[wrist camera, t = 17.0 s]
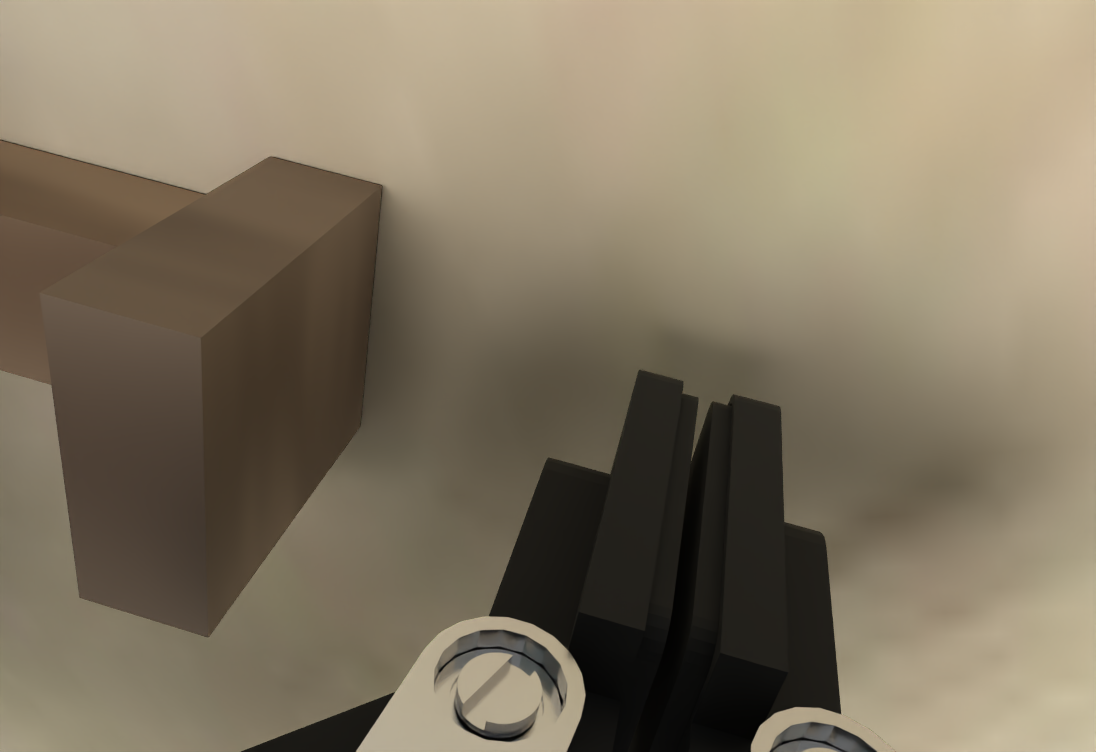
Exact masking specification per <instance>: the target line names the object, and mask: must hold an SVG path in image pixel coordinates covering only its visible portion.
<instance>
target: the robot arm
mask: <svg viewBox="0 0 1096 752" xmlns="http://www.w3.org/2000/svg"><path fill="white" fill-rule="evenodd" d="M683 384H684V382H683V381H681V380H677V379H673V378H669V377H666V376H662V375H658V374H654V373H650V372H647V371H643V370H639V371H638V375H637V379H636V382H635V386H634V390H633V393H632V397H631V401H630V404H629V408H628V412H627V415H626V419H625V423H624V426H623V430H622V434H621V437H620V441H619V445H618V448H617V452H616V456H615V459H614V463H613V467H612V470H611V474H607V473H603V472H599V471H596V470H592V469H588V468H585V467H581V466H577V465H574V464H570V463H567V462H563V461H559V460H556V459H552V458H548V459H547V460H546V463H545V465H544V468H543V470H542V473H541V476H540V479H539V481H538V484H537V487H536V489H535V492H534V495H533V498H532V500H531V503H530V506H529V508H528V511H527V514H526V517H525V519H524V522H523V525H522V528H521V530H520V533H519V536H518V538H517V541H516V544H515V547H514V549H513V552H512V555H511V557H510V560H509V563H508V566H507V568H506V571H505V574H504V577H503V579H502V582H501V585H500V587H499V590H498V593H497V596H496V598H495V601H494V604H493V606H492V609H491V612H490V615H489V616H483V617H478V618H473V619H469V620H464V621H460V622H458V623H456V624H454V625H453V626H451V627H449V628H447V629H445V630H443V631H441V632H440V633H439V634H438V635H437V636H436V637H435V638H434V639H433V640H432V641H431V642H430V643H429V644H428V645H427V646H426V647H425V648H424V650H423V651H422V653H421V654H420V656H419V657H418V659H417V660H416V662H415V663H414V665H413V666H412V668H411V669H410V671H409V672H408V674H407V676H406V677H405V679H404V680H403V682H402V683H401V685H400V686H399V688H398V689H397V691H396V692H394V693H392V694H389V695H386V696H384V697H381V698H379V699H376V700H374V701H371V702H368V703H366V704H363V705H361V706H358V707H355V708H353V709H350V710H348V711H345V712H342V713H340V714H337V715H335V716H332V717H330V718H327V719H324V720H322V721H319V722H317V723H314V724H311V725H309V726H306V727H304V728H301V729H298V730H296V731H293V732H291V733H288V734H285V735H283V736H280V737H278V738H275V739H273V740H270V741H267V742H265V743H262V744H260V745H257V746H254V747H252V748H249V749H247V750H244V751H241V752H895V751H894V749H893V748H892V747H890V746H889V745H888V744H887V743H886V742H885V741H883V740H882V739H881V738H880V737H879V736H877V735H876V734H875V733H874V732H873V731H871V730H870V729H869V728H867V727H865V726H863V725H861V724H859V723H858V722H856V721H854V720H852V719H850V718H849V717H847V716H845V715H842V714H841V707H840V696H839V685H838V673H837V662H836V651H835V640H834V629H833V617H832V606H831V595H830V584H829V573H828V561H827V550H826V543H825V538H824V536H823V535H822V533H821V532H818V531H814V530H811V529H807V528H803V527H800V526H796V525H792V524H789V523H785V522H784V502H783V467H782V432H781V409H780V407H779V406H776V405H772V404H768V403H765V402H761V401H757V400H753V399H749V398H745V397H742V396H738V395H734V394H733V396H732V397H731V399H730V401H729V403H728V405H724V404H720V403H717V402H712V403H711V405H710V407H709V410H708V413H707V416H706V419H705V422H704V425H703V428H702V431H701V434H700V437H699V440H698V443H697V446H696V449H695V452H694V455H693V458H692V461H691V456H692V448H693V440H694V432H695V424H696V416H697V408H698V397H694V396H690V395H686V394H682V391H683Z"/></svg>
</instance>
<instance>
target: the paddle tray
mask: <svg viewBox="0 0 1096 752" xmlns="http://www.w3.org/2000/svg"><path fill="white" fill-rule="evenodd" d="M381 192H382V186H381V185H378V184H374V183H370V182H366V181H362V180H358V179H354V178H351V177H347V176H343V175H339V174H335V173H331V172H327V171H324V170H320V169H316V168H312V167H308V166H304V165H301V164H297V163H293V162H289V161H285V160H281V159H277V158H274V157H268V158H267V159H265V160H263V161H262V162H260V163H258V164H257V165H255V166H253V167H252V168H250V169H248V170H246V171H245V172H243V173H241V174H240V175H238V176H236V177H235V178H233V179H231V180H230V181H228V182H226V183H224V184H223V185H221V186H219V187H218V188H216V189H214V190H213V191H211V192H209V193H207V194H206V195H204V194H200V193H197V192H193V191H189V190H185V189H182V188H178V187H174V186H170V185H166V184H163V183H159V182H155V181H151V180H148V179H144V178H140V177H136V176H133V175H129V174H125V173H121V172H117V171H114V170H110V169H106V168H102V167H99V166H95V165H91V164H87V163H83V162H80V161H76V160H72V159H68V158H65V157H61V156H57V155H53V154H50V153H46V152H42V151H38V150H34V149H31V148H27V147H23V146H19V145H16V144H12V143H8V142H4V141H0V370H2V371H6V372H9V373H13V374H16V375H19V376H23V377H26V378H30V379H33V380H37V381H40V382H44V383H47V384H51V385H52V392H53V399H54V407H55V415H56V422H57V430H58V437H59V445H60V452H61V460H62V468H63V475H64V483H65V490H66V498H67V505H68V513H69V521H70V528H71V536H72V543H73V551H74V558H75V566H76V573H77V581H78V589H79V596H80V598H82V599H86V600H89V601H92V602H95V603H98V604H102V605H105V606H108V607H111V608H115V609H118V610H121V611H124V612H128V613H131V614H134V615H137V616H141V617H144V618H147V619H150V620H153V621H157V622H160V623H163V624H166V625H170V626H173V627H176V628H179V629H183V630H186V631H189V632H192V633H195V634H199V635H202V636H205V637H209V636H210V635H211V633H212V632H213V630H214V629H215V628H216V626H217V625H218V623H219V622H220V621H221V619H222V618H223V616H224V615H225V614H226V612H227V611H228V610H229V608H230V607H231V605H232V604H233V603H234V601H235V600H236V598H237V597H238V596H239V594H240V593H241V591H242V590H243V589H244V587H245V586H246V584H247V583H248V582H249V580H250V579H251V578H252V576H253V575H254V573H255V572H256V571H257V569H258V568H259V566H260V565H261V564H262V562H263V561H264V559H265V558H266V557H267V555H268V554H269V553H270V551H271V550H272V548H273V547H274V546H275V544H276V543H277V541H278V540H279V539H280V537H281V536H282V534H283V533H284V532H285V530H286V529H287V528H288V526H289V525H290V523H291V522H292V521H293V519H294V518H295V516H296V515H297V514H298V512H299V511H300V509H301V508H302V507H303V505H304V504H305V503H306V501H307V500H308V498H309V497H310V496H311V494H312V493H313V491H314V490H315V489H316V487H317V486H318V484H319V483H320V482H321V480H322V479H323V478H324V476H325V475H326V473H327V472H328V471H329V469H330V468H331V466H332V465H333V464H334V462H335V461H336V459H337V458H338V457H339V455H340V454H341V452H342V451H343V450H344V448H345V447H346V446H347V444H348V443H349V441H350V440H351V439H352V437H353V436H354V434H355V433H356V432H357V430H358V429H359V427H360V425H361V414H362V403H363V392H364V381H365V370H366V359H367V348H368V337H369V325H370V314H371V303H372V292H373V281H374V270H375V259H376V248H377V237H378V226H379V215H380V204H381Z"/></svg>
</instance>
